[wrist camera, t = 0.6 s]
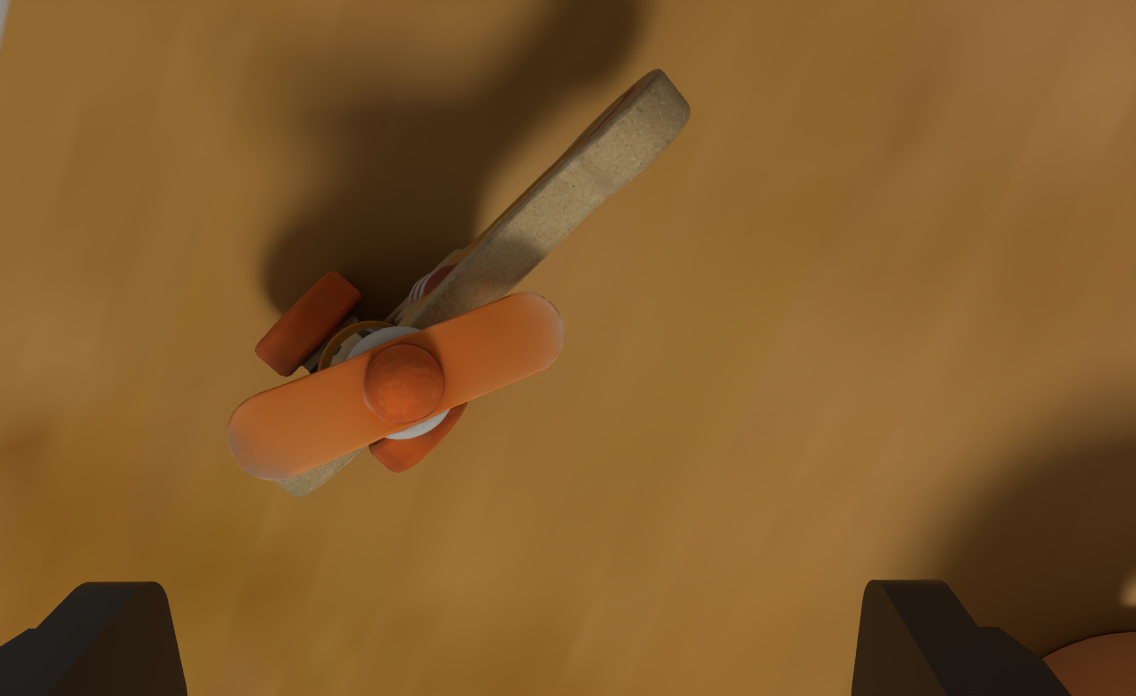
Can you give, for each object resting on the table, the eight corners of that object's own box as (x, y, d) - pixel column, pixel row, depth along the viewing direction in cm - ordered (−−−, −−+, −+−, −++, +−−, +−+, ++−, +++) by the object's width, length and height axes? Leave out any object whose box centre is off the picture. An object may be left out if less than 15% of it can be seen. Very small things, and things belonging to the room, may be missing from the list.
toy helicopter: (263, 343, 37) (87, 484, 24) (588, 6, 32) (595, -51, 19) (393, 460, 38) (297, 650, 25) (720, 156, 34) (809, 198, 21)
